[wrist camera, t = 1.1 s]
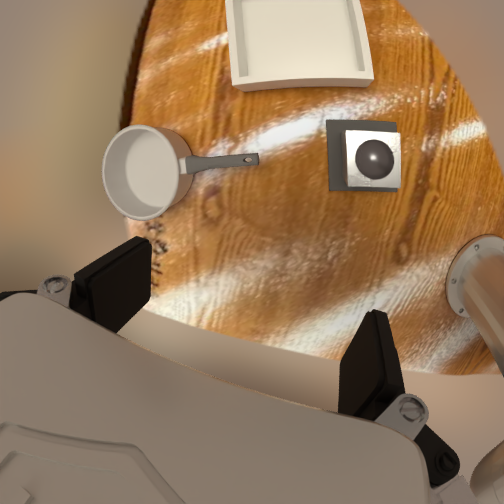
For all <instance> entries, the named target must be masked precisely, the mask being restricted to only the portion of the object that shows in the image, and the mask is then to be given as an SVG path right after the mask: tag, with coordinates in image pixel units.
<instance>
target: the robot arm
mask: <svg viewBox="0 0 504 504" xmlns="http://www.w3.org/2000/svg"><path fill="white" fill-rule="evenodd" d="M151 257H152V245H151V244H150V243H149V240H148V239H145V238H142V237H139V236H135V237H134V238H132V239H130V240H128V241H127V242H125V243H123V244H122V245H120V246H118V247H117V248H115V249H113V250H112V251H110V252H108V253H107V254H105V255H103V256H102V257H100V258H99V259H97V260H95V261H94V262H92V263H91V264H89V265H87V266H86V267H84V268H83V269H81V270H79V271H78V272H76V273H75V274H74V279H75V280H74V281H72V282H71V280H70V278H68V277H67V276H64V275H52V276H48V277H46V278H45V279H43V280H42V281H41V283H40V285H39V288H38V290H26V291H10V292H2V293H0V504H504V440H503V441H502V442H501V443H499V444H498V445H497V446H496V447H494V448H493V449H492V450H491V451H490V452H489V453H488V454H486V455H485V456H484V457H483V458H482V460H481V461H480V462H479V463H478V465H477V466H476V467H475V469H474V471H473V473H472V476H471V479H470V484H469V485H468V483H467V482H466V480H465V478H464V476H463V475H461V476H460V477H459V475H458V472H459V468H460V461H459V458H458V456H457V454H456V453H455V452H454V450H453V449H451V448H450V447H449V446H448V445H447V444H446V443H445V442H444V441H443V440H442V439H441V438H440V437H439V436H438V435H437V434H435V433H434V432H433V431H432V430H431V429H430V428H429V427H428V426H427V425H426V424H425V423H426V422H427V420H428V414H429V412H428V409H427V406H426V405H425V403H424V402H423V401H422V400H421V399H420V398H418V397H417V396H415V395H413V394H406V393H405V388H404V383H403V377H402V372H401V367H400V362H399V358H398V353H397V350H396V348H395V345H394V341H393V336H392V332H391V328H390V324H389V320H388V317H387V313H385V312H382V311H378V310H375V309H373V310H372V311H371V312H369V311H368V312H367V313H366V314H365V316H364V318H363V320H362V322H361V324H360V326H359V328H358V330H357V332H356V334H355V336H354V338H353V339H352V341H351V343H350V345H349V347H348V348H347V350H346V352H345V354H344V356H343V357H342V359H341V362H340V376H339V402H338V413H337V412H332V411H328V410H324V409H319V408H315V407H311V406H307V405H303V404H299V403H295V402H292V401H288V400H284V399H281V398H277V397H274V396H271V395H267V394H264V393H261V392H257V391H254V390H251V389H248V388H245V387H242V386H239V385H236V384H233V383H230V382H227V381H224V380H222V379H219V378H216V377H213V376H211V375H208V374H206V373H203V372H201V371H198V370H195V369H193V368H190V367H188V366H185V365H183V364H181V363H178V362H176V361H173V360H171V359H169V358H167V357H164V356H162V355H160V354H158V353H155V352H153V351H151V350H149V349H147V348H145V347H142V346H140V345H138V344H136V343H134V342H132V341H130V340H128V339H126V338H124V337H122V336H120V335H118V334H116V333H117V332H118V331H119V330H120V329H121V328H122V327H123V326H124V325H125V324H126V323H127V322H128V321H129V320H130V319H131V318H132V317H133V316H134V315H135V314H136V313H137V312H138V311H139V310H140V309H141V308H142V307H143V306H144V305H145V304H146V303H147V302H148V301H149V299H150V296H151ZM446 296H447V300H448V302H449V304H450V306H451V308H452V309H453V310H454V312H455V313H457V314H458V315H460V316H462V317H465V318H471V319H472V321H473V322H474V324H475V326H476V327H477V329H478V331H479V332H480V334H481V336H482V337H483V339H484V341H485V343H486V344H487V346H488V348H489V350H490V352H491V353H492V355H493V357H494V359H495V361H496V363H497V365H498V367H499V369H500V371H501V373H502V375H503V377H504V240H503V239H502V238H500V237H498V236H496V235H488V234H487V235H482V236H479V237H477V238H475V239H473V240H472V241H470V242H469V243H468V244H467V245H466V246H464V247H463V248H462V249H461V251H460V252H459V253H458V255H457V256H456V258H455V259H454V261H453V263H452V265H451V267H450V270H449V272H448V276H447V280H446Z"/></svg>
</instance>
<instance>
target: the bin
mask: <svg viewBox="0 0 504 504" xmlns="http://www.w3.org/2000/svg"><path fill="white" fill-rule="evenodd" d="M225 4H226V16H227V29H228V41H229V53H230V64H231V76H232V86H234V87H236V88H238V89H239V90H241V91H243V92H249V91H258V90H268V89H280V88H295V87H368V86H369V84H370V83H371V82H372V81H373V80H374V76H373V68H372V61H371V55H370V49H369V43H368V38H367V32H366V27H365V22H364V18H363V13H362V9H361V5H360V1H359V0H225Z"/></svg>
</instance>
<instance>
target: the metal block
mask: <svg viewBox="0 0 504 504" xmlns="http://www.w3.org/2000/svg"><path fill="white" fill-rule="evenodd" d="M341 150H342V178H343V179H344V181H345V182H346V184H347V186H358V187H389V188H400V185H401V150H400V133H390V132H373V131H344V132H342V133H341Z"/></svg>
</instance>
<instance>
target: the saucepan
mask: <svg viewBox="0 0 504 504" xmlns="http://www.w3.org/2000/svg"><path fill="white" fill-rule="evenodd" d="M247 157H248V158H251V159H252V161H251V162H246V161H245V159H246V158H247ZM249 165H259V155H258V153H253V154H239V155H227V156H217V157H199V156H195V155H192V154H191V152H190V149H189V147H188V145H187V144H186V142H185V141H184V140H183V139H182V138H181V137H180V136H179V135H178V134H177V133H175V132H174V131H171V130H169V129H166V128H152V127H150V126H147V125H133V126H129V127H127V128H124V129H123V130H121V131H120V132H118V133H117V134H116V135H115V136H114V137H113V138H112V140H111V141H110V143H109V145H108V146H107V148H106V151H105V153H104V157H103V162H102V181H103V185H104V189H105V191H106V194H107V196H108V198H109V200H110V201H111V203H112V204H113V206H114V207H115V208H116V209H117V210H118V211H119V212H121V213H122V214H123V215H125V216H126V217H128V218H130V219H134V220H139V221H146V220H151V219H154V218H156V217H158V216H160V215H161V214H162V213H163V212H165V211H166V209H167V208H168V207H170V206H172V205H174V204H176V203H177V202H179V201H180V200H181V199H182V198H183V197H184V196H185V195H186V193H187V192H188V190H189V188H190V186H191V183H192V180H193V174H196V173H197V172H200V171H204V170H208V169H215V168H225V167H237V166H249Z"/></svg>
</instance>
